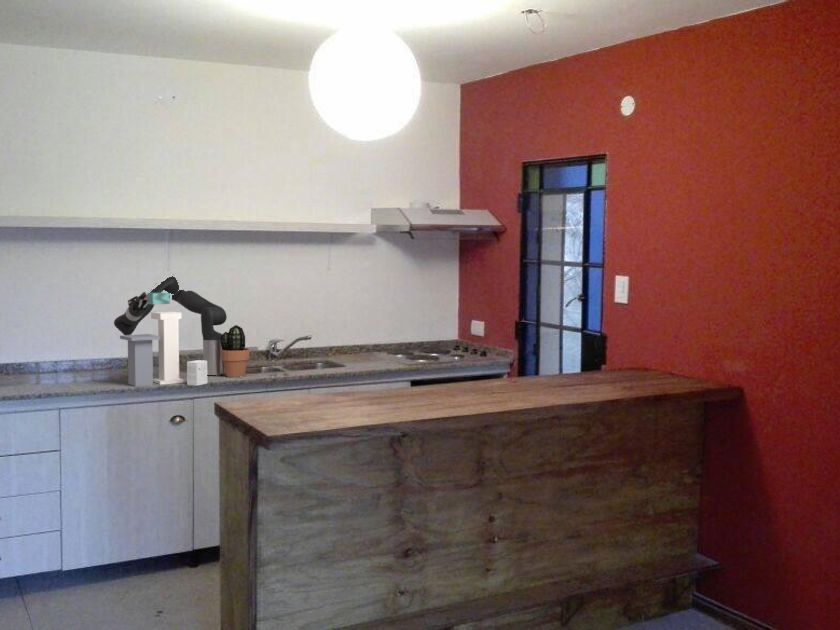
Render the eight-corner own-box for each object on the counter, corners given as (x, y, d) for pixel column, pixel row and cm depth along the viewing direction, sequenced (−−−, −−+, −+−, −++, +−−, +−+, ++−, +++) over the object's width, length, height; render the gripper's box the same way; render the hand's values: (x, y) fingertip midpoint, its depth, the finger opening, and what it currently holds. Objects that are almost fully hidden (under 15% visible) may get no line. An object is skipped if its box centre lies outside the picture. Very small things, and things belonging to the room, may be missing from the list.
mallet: (151, 301, 406) (151, 291, 406) (169, 303, 391) (169, 293, 391) (135, 302, 401) (135, 291, 401) (152, 304, 386) (152, 293, 386)
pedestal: (148, 381, 389) (148, 334, 387) (160, 385, 379) (160, 336, 378) (120, 384, 380) (119, 335, 379) (132, 387, 371) (131, 337, 369)
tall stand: (173, 379, 395) (173, 311, 393) (183, 382, 388) (182, 312, 386) (151, 382, 388) (150, 312, 386) (160, 384, 381) (159, 313, 378)
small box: (197, 382, 387) (197, 359, 387) (207, 383, 385) (207, 360, 385) (186, 385, 380) (186, 361, 379) (197, 385, 378) (196, 362, 377)
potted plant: (248, 374, 417) (247, 323, 416) (251, 377, 404) (251, 325, 403) (219, 375, 413) (219, 323, 411) (222, 378, 400) (221, 326, 398)
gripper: (151, 316, 414) (164, 300, 403) (123, 317, 405) (135, 301, 393) (148, 303, 417) (160, 286, 405) (120, 303, 408) (132, 286, 396)
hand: (148, 293), depth 399 cm, fingers closed on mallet, 2 cm apart
